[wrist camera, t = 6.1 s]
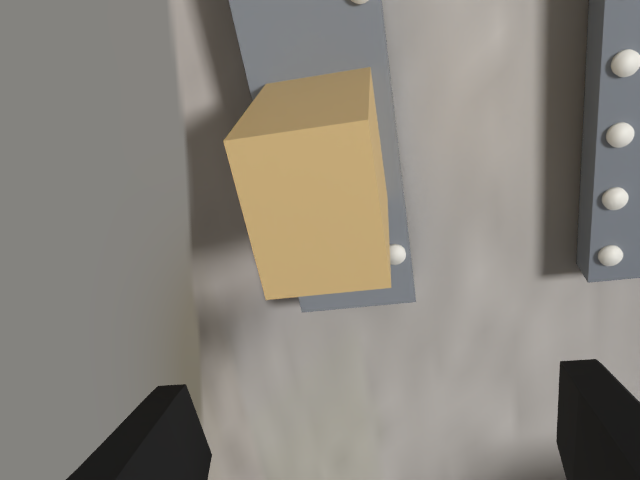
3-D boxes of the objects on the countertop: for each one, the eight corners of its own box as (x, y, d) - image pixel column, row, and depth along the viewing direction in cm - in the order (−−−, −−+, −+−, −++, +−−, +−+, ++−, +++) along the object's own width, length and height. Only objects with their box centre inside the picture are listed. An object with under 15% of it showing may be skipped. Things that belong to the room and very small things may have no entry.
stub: (369, -102, 14) (365, -125, 9) (413, 282, 20) (428, 412, 14) (223, -71, 15) (137, -74, 10) (305, 293, 21) (280, 421, 15)
